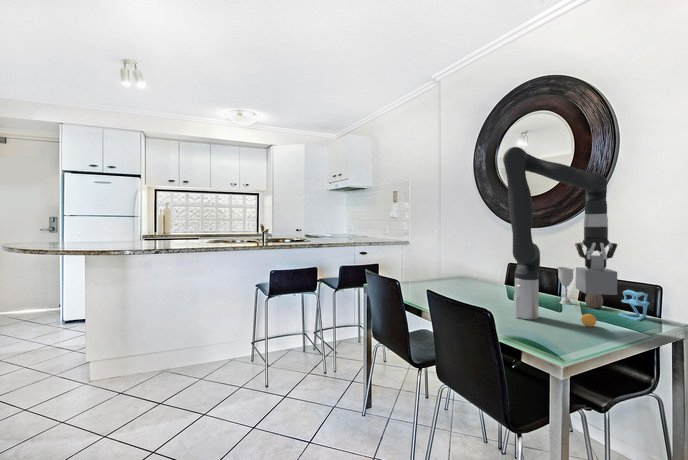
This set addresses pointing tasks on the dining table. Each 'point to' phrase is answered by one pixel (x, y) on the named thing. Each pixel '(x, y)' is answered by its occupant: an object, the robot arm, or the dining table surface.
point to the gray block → (596, 278)
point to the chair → (635, 302)
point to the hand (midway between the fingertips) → (595, 268)
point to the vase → (594, 300)
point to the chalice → (565, 281)
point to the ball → (588, 320)
